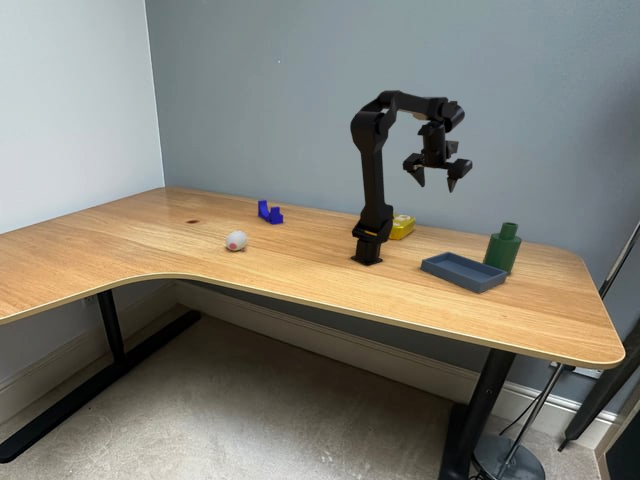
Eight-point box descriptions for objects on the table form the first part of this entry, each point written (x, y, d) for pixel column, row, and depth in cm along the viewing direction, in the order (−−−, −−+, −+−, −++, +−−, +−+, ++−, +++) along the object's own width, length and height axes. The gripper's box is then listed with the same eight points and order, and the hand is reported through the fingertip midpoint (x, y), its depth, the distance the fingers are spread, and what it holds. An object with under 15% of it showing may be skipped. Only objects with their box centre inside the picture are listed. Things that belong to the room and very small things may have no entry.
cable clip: (283, 223, 137) (283, 206, 134) (272, 224, 135) (272, 208, 132) (268, 214, 146) (268, 199, 144) (258, 216, 145) (258, 200, 142)
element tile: (374, 221, 138) (376, 208, 136) (415, 229, 130) (417, 216, 128) (356, 231, 128) (357, 218, 126) (399, 241, 119) (401, 226, 117)
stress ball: (238, 254, 118) (228, 235, 118) (256, 245, 113) (246, 225, 113) (224, 261, 113) (213, 242, 112) (242, 251, 107) (231, 231, 107)
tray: (478, 293, 88) (481, 283, 87) (419, 269, 100) (422, 259, 99) (504, 282, 93) (508, 272, 92) (446, 260, 105) (448, 251, 104)
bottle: (501, 278, 95) (517, 230, 89) (475, 269, 100) (489, 222, 94) (515, 272, 98) (532, 225, 92) (489, 264, 103) (504, 218, 97)
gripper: (484, 129, 100) (482, 179, 110) (421, 125, 113) (425, 170, 123) (460, 152, 97) (461, 201, 107) (398, 145, 110) (404, 189, 120)
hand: (437, 189), depth 114 cm, fingers open, 9 cm apart
